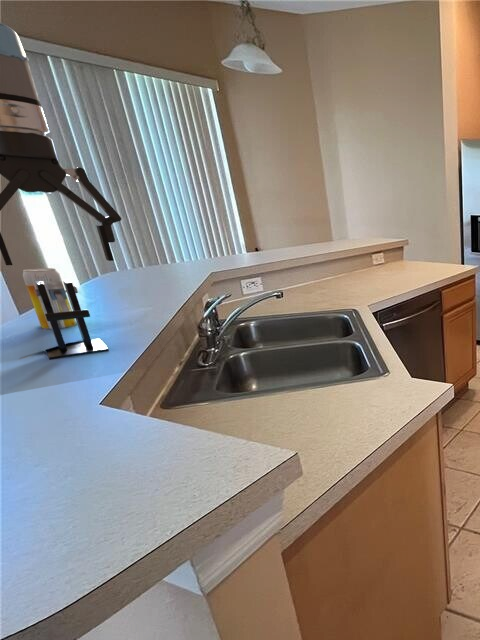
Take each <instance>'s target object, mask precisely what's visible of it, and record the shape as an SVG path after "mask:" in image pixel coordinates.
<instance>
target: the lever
mask: <svg viewBox="0 0 480 640" xmlns="http://www.w3.org/2000/svg"><path fill="white" fill-rule="evenodd" d="M62 283H63V282H62ZM62 283H61V282H57V283H46V285H47V288H48V291H49V294H50V296H51V298H52V300H57V302H58V304H59V306H60V309H61V311H62V312H58V313H48V314H45V317H46V319H47V321H57V320H66V319H75V320H76V318H84V319H85V318H90V317H91V314H90V311H89V310H88V309H81V310H78V311H73V310H72V311H70V309H69V307H68V305H67V303H66V301H65V299H67V298H68V295H67V292H66V289H65V286H64V284H63V285H62ZM63 286H64V287H63ZM64 289H65V290H64ZM65 292H66V293H65ZM66 295H67V296H66Z"/></svg>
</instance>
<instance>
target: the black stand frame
mask: <svg viewBox="0 0 480 640" xmlns="http://www.w3.org/2000/svg"><path fill="white" fill-rule="evenodd" d="M35 283H36V286H37V289H34V290H35V293H36V295H37V296H40V297H41V300H42V303H43V306H44V308H45V311H46V314H48V313H54V311H53V308H52V305H51V303H50V300H49V297H48V294H47V291H46V288H45V286H44V284H43V282H35ZM62 283H63V286H64V289H65V292H66V295H67V298H68V301H69V304H70V307H71V310H72V311H78V310H82V309H81V305H80V302H79V299H78V296H77V294H78V293H79V291H78V288H77V286H76V285H74V283H73V282H72V281H71V280H70V279H63V280H62ZM49 322H50V325H51V328H52V329H51V331H52V334H53V337H54V339H55V342H56V346H53V347H50V348H47V349H45V353H46V355H47V358H48V360H49V361H51V360H57V359H65V358H71V357H77V356H78V357H79V356H83V355H90V354H97V353H103V352H109V351H110V350H109V348H108V347H107V345H106V344H105V343H104V341H103V340H101V338H94V339H91V336H90V332H89V330H88V326H87V322H86V320H85V318H75V322H76V325H77V327H78V330H79V333H80V336H81V339H82V340H79V341H72V342H71V341H70V342H67V343H65V340H64V337H63V333H62V331H61V328H59V325H58V323H57V321H49Z"/></svg>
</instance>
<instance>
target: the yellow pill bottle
mask: <svg viewBox="0 0 480 640" xmlns="http://www.w3.org/2000/svg"><path fill="white" fill-rule="evenodd" d="M22 271H23V273H22V278H23V281H24V284H25V287H26V290H27V292H28V294H29V297H30V300H31V303H32V305H33V308H34V311H35V313H36V317H37V319H38V322H39V325H40V328H41V329H43V330H44V329H45V330H52V328H51V325H50V322H49V321H47V319H46V317H45V314H46V311H45V308H44V306H43V303H42V300H41V297H40V296H37V295H36V293H35V290H34V289H37V286H36V283H35V282H43V284H44V286H45V288H46V291H47V294H48V297H49V300H50V303H51V305H52V308H53V311H54V313H58V312H62V311H61V309H60V306H59V304H58V302H57V300H52V298H51V296H50V294H49V291H48V288H47V285H46V283H57V282H61V283H62V285H63V287H64V290H65V293H66V296H67V299H65V301H66V303H67V305H68V307H69V309H70V311H73V309H72V306H71V303H70V300H69V297H68V294H67V291H66V289H65V286H64V283H63V280H62V278H61V275H60V273H59V272H58V271H57V270H56V268H53V267H51V268H50V267H48V268H47V267H44V268H43V267H41V268H40V267H39V268H28V269H23V270H22ZM57 323H58V325H59V328H60V329H65V328H69V327H75V326H76V325H77V321H76V318H75V319H66V320H57Z"/></svg>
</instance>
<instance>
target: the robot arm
mask: <svg viewBox="0 0 480 640" xmlns="http://www.w3.org/2000/svg"><path fill="white" fill-rule="evenodd" d="M49 133H50V130H49V127H48V124H47V119H46V117H45V114H44V110H43V107H42V104H41V101H40V98H39V93H38V90H37V87H36V84H35V81H34V77H33V74H32V70H31V68H30V64H29V58H28V56H27V53H26V52H25V49H24V47H23V44H22V42H21V39H20V37H19V35H18V33H17V32H16V31H15V30H14V29H13V28H11V27H10V26H9V25H6V24H4V23H2V22H0V176H2V177H3V178H5V179H6V180H7V181H8V183H7V184H6V185H5V187H4V188H3V189H2V191H0V212H1V211H2V210H3V208H4V207H5V206H6V204H7V203H8V202H9V201H10V200H11V198H12V197H13V196H14V195H15V194H16V192H17V191H18V190H20V191H22V192H25V193H36V192H37V193H38V192H40V193H43V194H52V193H56V192H58V193H60V194H61V195H62V196H64V197H65V198H66V199H68V200H69V201H71V202H72V203H73V204H75V205H76V206H77V207H79V208H80V209H82V211H84V212H85V213H86V214H88V215H89V216H90V217H92V218H93V219H95V220H96V221H97V222H99V223H100V224H96V225H95V226H96V230H97V233H98V237H99V240H100V244H101V247H102V250H103V254H104V258H105V260H106V261H108V262H114V261H115V259H114V256H113V253H112V248H111V245H110V243H115V242H116V238H115V234H114V232H113V228H112V225H113V224H115V223H118V222H122V217H121V215H120V214H119V213H118V212H117V211H116V209H114V207H113V206H112V205H111V204H110V203H109V202H108V200H107V199H106V198H105V197H104V196H103V195H102V194H101V192H99V190H98V189H97V188H96V187H95V186H94V185H93V184H92V182H91V181H90V179H89V177H88V174H87V171H86V170H85V169H84V168H83V167H76V168H64V167H62V165H61V163H60V160H59V158H58V155H57V152H56V148H55V145H54V142H53V139H52V138H50V137H49V136H47V134H49ZM67 176H68V177H70V178H71V179H72V180H73V181H74V182H79V184H80V186H82V188H83V189H84V190H85V191H86V192H87V194H89V196H90V197H91V198H92V200H94V201H95V203H97V204H98V206H99V207H100V208H101V209H102V210H103V211H104V213H105V214H106V215H107V216H105V215H104V214H102V213H101V212H100V211H98V210H97V209H96V208H94V207H93V206H92V205H91V204H89V203H88V202H86V201H85V200H84V199H83V198H82V197H80V196H78V194H76V193H75V192H73V190H71V189H70V188H68V187H67V186H66V185H64V184H63V182H64V181H65V179H66V177H67ZM0 254H1V256H2V258H3V261H4V264H5V265H6V266H13V262H12V259H11V257H10V255H9V251H8V249H7V246H6V243H5V240H4V238H3V235H2V232H1V231H0Z"/></svg>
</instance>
